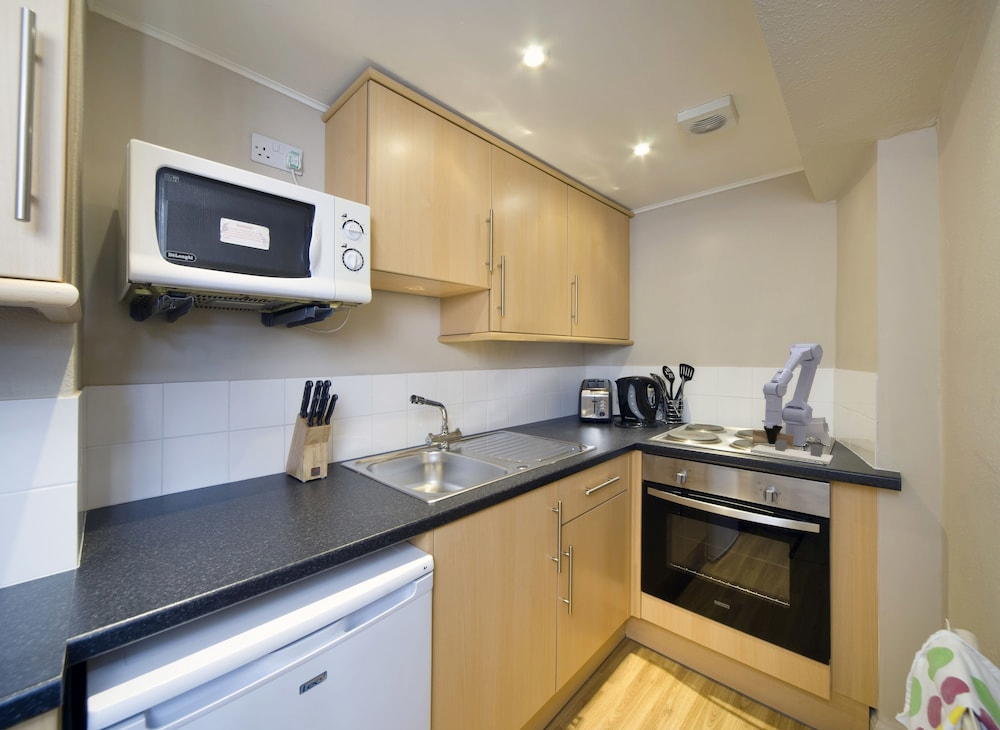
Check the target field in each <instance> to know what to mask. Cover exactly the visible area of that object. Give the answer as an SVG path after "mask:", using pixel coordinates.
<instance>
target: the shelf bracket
mask: <svg viewBox="0 0 1000 730" xmlns="http://www.w3.org/2000/svg"><path fill="white" fill-rule="evenodd" d="M826 421H827V420H826V417H825V416H823V417H819V416H818V417H812V420H811V422H810V423H809V424H808V425H806V440H807V438H809V437H813V438H815V439H817V438H819V439H820V442H821V445H822V444H823V445H824V446H825V445H826V446H825V447H827V446H829V447H830V446H831V441H830V437H829V436H830V435H829V432H830V427H829V423H828V422H826ZM766 425H767V424H766V423H765V422H763V427H764V426H766ZM777 426H782V429H781V430H780V432H779V433H782V434H785V428H786V423H784V420H782V424H781V425H777Z"/></svg>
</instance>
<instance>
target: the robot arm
mask: <svg viewBox="0 0 1000 730" xmlns="http://www.w3.org/2000/svg"><path fill="white" fill-rule="evenodd" d="M823 353H824V350H823V348H822V345H821V344H820V343H818V342H815V343H794V344H792V346H791V347H790V349H789V355H790V356H789V357H788V359H787V361H786V363H785V364H784V366H783V368H780V369H778V370H777V371H776V372H775V374H774V376H773V377H772V378H771V380H770V381H768V382H766V383H765V384H764V386H763V388H762V392H763V395H764V400H765V415H764V417H765V418H764V419H762V420H761V422H762V423H764V422H765V423H766V424H767V425H766V426H764V425H763V431H766V434H767V439H768V443H769V444H775V442H776V437H777V434H778V433H779V432H780V430H781V429H782V426H777V425H781V424H782V420H784V423H786V428H785V434H790V435H794V442H793V446H794V447H795V446H797V447H802V448H803V446H804V444H805V443H806V442H807V439H806V425H808V424H809V423H810V422H811V420H812V418H813V408H812V406H810V405H809V404H808V401H809V399H810V398H809V397H810V394H811V390H812V387H813V383H814V380H815V376H816V373H817V372H816V371H817V368H818V366H819V365H820V364H821V361H822V357H823ZM799 365H800V366H801V367H800V368H801V369H800V372H799V375H798V378H797V382H796V386H795V388H794V391H793V392H794V393H793V396H792V400H789V401H788V402H786V403H784V407H783V397H784V396H785V395H786V394H787V391H788V390H787V389H788V385H789V383H790V382H791V380H792V379H793V378H794V374H793V372H794V371H795V370H796V368H797V367H798V366H799Z"/></svg>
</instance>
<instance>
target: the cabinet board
mask: <svg viewBox="0 0 1000 730" xmlns="http://www.w3.org/2000/svg"><path fill="white" fill-rule="evenodd" d="M823 445H824V444H823ZM823 445H822V444H814V443H812V445H811V446H810V451H806V450H805V451H804V450H799V449H794V448H793V449H787V440H780V439H778V441H776V445H775V447H769V446H765V445H759V444H758V445H754V446H753V447H752V448H751V449H750V453H756V454H760V455H761V454H762V455H765V456H766V455H768V456H774V457H780V458H786V459H793V460H797V459H798V461H803V460H808V461H807V462H810V461H818V462H822V463H824V465H830V464H831V462H832V460H833V458H834V455H833V454H825V453H823V451H824V450H823V449H824V447H823ZM822 463H821V464H822Z"/></svg>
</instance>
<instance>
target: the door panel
mask: <svg viewBox="0 0 1000 730" xmlns="http://www.w3.org/2000/svg"><path fill="white" fill-rule="evenodd" d="M778 439H780V440H787V449H793V450H794V445H793V442H794V435H790V434H782V433H778V434H777V437H776V441H778ZM751 443H752V445H754V443H768V439H767V434H766V431H765V430H757V429H753V430H752V442H751ZM775 445H776V442H775Z"/></svg>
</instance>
